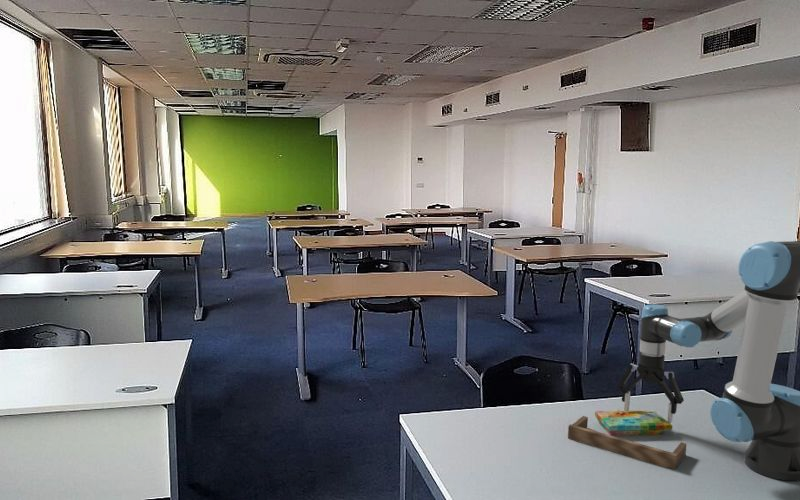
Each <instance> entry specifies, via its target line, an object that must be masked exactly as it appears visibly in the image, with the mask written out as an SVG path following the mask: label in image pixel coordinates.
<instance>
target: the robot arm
mask: <svg viewBox="0 0 800 500" xmlns="http://www.w3.org/2000/svg"><path fill="white" fill-rule="evenodd" d="M738 274H739V276H740V277H741V278H740V280H741V281H742V283H743V284H744V290H741V291H740V292H739V293H738V294H735V296H733V297H732V298H730V299H729V300H727V301H726V302H723V304H721V305H719V306H718V307H717V308H715V309H713V310H712V311H711V312H709V313H708V314H706V315H704V316H695V317H684V318H678V317H675V316H674V317H673V316H672V315H669V309H668V307H666V306H665V305H663V304H662V305H660V304H653V303H651V304H645V305H643V307H642V312H641V317H640V319H641V321H640V322H641V324H640V339H639V355H638V365H637V364H635V363H633V362H631V363H629V364H628V365H627V371H626V372H625V374H624V375H623V377H622V378H621V380H620V381H619V382H618V384H617V386H616V390H620V391H621V402H623V403H624V407H623V411H630V404H631V403H630V402H631V401H630V400H631V391H630V389H632V387H634V386H635V385H636V384H637V383H639V381H641V380H643V381H644V382H650V383H652V384H655V383H656V385H657V386H658V387H659V388H660V389H661V391H662V392H663V394H664V395H665V396H666V397H667V399H668V400H669V403H668V406H667V407H668V410H667V420H666V421H667V422H669V423H670V424H671V423H672V422H673V419H674V418H673V415H675V414H676V413H677V407H678V405H681V404H682V403H684V397H683V395H682V392H681V390H680V387H679V385H678V383H677V381H676V378H675V371H673V370H670V371H665V353H666V343H667V342H669V343H673V344H675V345H677V346H679V347H685V348H694V347H696V345H698V344H699V343H700V342H703V343H704V342H709V341H711V342H712V341H715V342H716V341H721V340H725V339H727V338H729V337H731V334H732V333H733V331H734V329H736V328H738V327H739V326H741V325H743V328H742V334H741V338H740V342H739V343H740V344H739V348H738V354H737V357H736V358H737V359H736V363H735V368H734V372H733V378H732V381H728V382H727V383H726V384H724V385H725V386H724V390H723V394H722V397H719V398H717V399H716V400H714V401H713V402H712V403H711V407H710V410H709V411H710V419H711V422H712V424H713V425H714V427H715V430H716V431H717V432H718V433H719V434H720V436H722V437H723V439H725V440H727V441H730V442H733V443H748V442H750V443H749V445H748V447H747V448H746V451H745V454H744V464H745V465H746V466H747V468H749V469H751V470H752V471H753V472H756V473H757V472H758V473H757V474H760V475H762V476H765V477H768V478H771V479H776V480H780V479H781V480H780V481H787V480H798V481H800V390H797V389H794V388H792V387H790V386H789V387H788V386H785V385H781V384H775V383H772V379H773V375H774V370H775V364H776V360H777V356H778V352H779V347H780V344H781V343H780V342H781V338H782V334H783V330H784V329H783V328H784V324H785V321H786V316H787V311H788V306H789V304H791V303H793V302H796V301H797V300H798V299H797V298H798V295H799V294H800V240H794V241H791V240H790V241H787V240H786V241H765V242H759V243H756V244H754V245H753V244H752V246H750V247H748V248H747V249H746V250H745V251H744V252H743V254H742V255H741V257H740V260H739V262H738ZM666 341H667V342H666ZM635 371H637V373H638V374H639V375H638V376H637V377H635V379H632V380H631V382H630V383H628V384H627V385H626V386H625V384H626V383H627V381H628V380H629V378H630V376H631V375H632V374H633V372H635ZM664 377H666V379H667V380H668V383H669V385H670V388H671V389H670V388H669V386H668V385H667V383H666V380H665V379H664Z"/></svg>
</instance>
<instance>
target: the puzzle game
mask: <svg viewBox="0 0 800 500" xmlns="http://www.w3.org/2000/svg"><path fill="white" fill-rule="evenodd" d="M594 416H595V418H596V419H597V422H598V423H599V425H600V426H601V427H602V428H603V429H604V430H605V431H606V433H607V434H608V435H611V436H614V437H620V436H622V437H623V436H624V437H625V436H627V437H628V436H630V437H631V436H659V434H661V432H662V431H671V430H673V424H671V423H669V422H667V420H666V419H665V418H664V417H663V416H662V415H660V414H659V413H658V412H657V411H655V410H629V411H624V410H620V409H617V410H596V411H595V412H594Z"/></svg>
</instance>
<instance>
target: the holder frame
mask: <svg viewBox="0 0 800 500" xmlns="http://www.w3.org/2000/svg"><path fill="white" fill-rule="evenodd" d="M588 421H589V417H588V416H585V415H583V416H581V417H580V418H578V419H577V420H576V421H575V422H573V423H572V424H571V423H570V424H569V425H568V427H567V428H568V431H567V439H569V440H572V441H576V442H579V443H583V444H586V445H589V446H593V447H596V448H598V449H599V448H600V449H604V450H607V451H611V452H613V453H617V454H620V455H623V456H628V457H630V458H633V459H637V460H640V461H644V462H646V463H651V464H654V465H658V466H660V467H663V468H666V469H671V470H674V471H675V470H676V469H677V468H678V466H679V464H680V463H681V462H682V460H683V459H684V458H685V457H686V456H687V444H688V443H686V442H683V441H682V442H680V443H679V444H678V445H677V446H676V448H675V449H674V450H673V451H672V452H671V451H668V450H664V449H660V448H657V447H653V446H649V445H646V444H642V443H638V442H634V441H631V440H629V439H624V438H621V437H619V436H611V435H610V434H608V433H603V432H601V431H596V430H592V429H589V428H588Z"/></svg>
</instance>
